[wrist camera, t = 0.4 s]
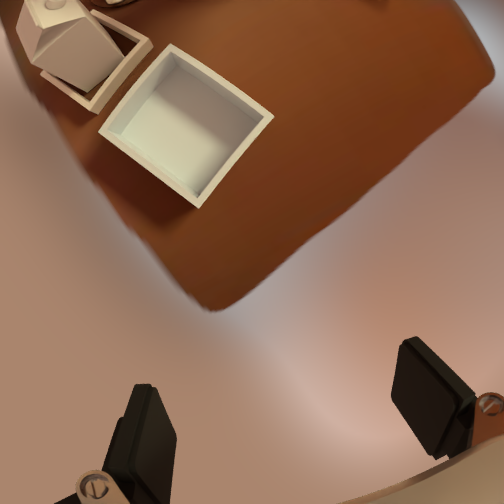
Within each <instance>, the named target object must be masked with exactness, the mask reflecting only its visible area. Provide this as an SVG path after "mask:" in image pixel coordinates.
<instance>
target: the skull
mask: <svg viewBox="0 0 504 504" xmlns="http://www.w3.org/2000/svg"><path fill="white" fill-rule="evenodd" d="M132 1H134V0H91V2H92V3H93V4H95V5H97V6H100V7H116V6H121V5H124V4H127V3H130V2H132Z"/></svg>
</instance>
